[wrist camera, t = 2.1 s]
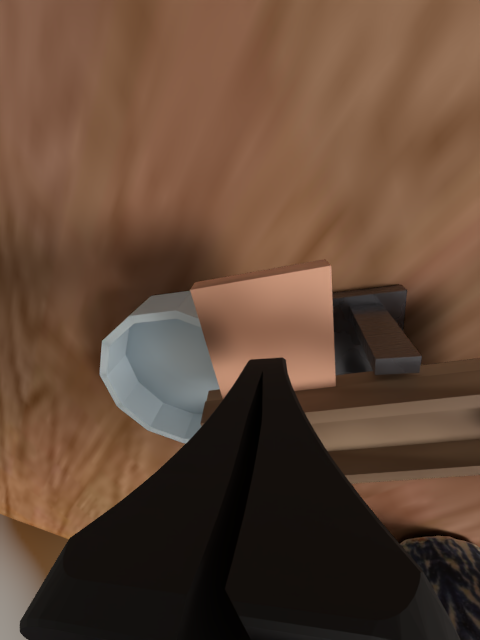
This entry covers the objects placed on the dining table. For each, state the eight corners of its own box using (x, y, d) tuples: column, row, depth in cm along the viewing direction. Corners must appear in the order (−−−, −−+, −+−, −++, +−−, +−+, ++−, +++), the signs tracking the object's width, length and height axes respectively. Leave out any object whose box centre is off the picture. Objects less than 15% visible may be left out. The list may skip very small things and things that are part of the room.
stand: (391, 394, 22) (431, 477, 16) (329, 397, 23) (345, 474, 17) (401, 284, 18) (461, 341, 12) (324, 293, 19) (342, 349, 13)
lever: (548, 414, 16) (640, 486, 12) (230, 443, 19) (224, 510, 15) (650, 195, 11) (873, 203, 7) (178, 280, 13) (147, 320, 9)
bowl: (277, 411, 25) (276, 443, 22) (153, 414, 28) (137, 443, 25) (253, 281, 19) (247, 301, 16) (99, 302, 22) (70, 322, 19)
